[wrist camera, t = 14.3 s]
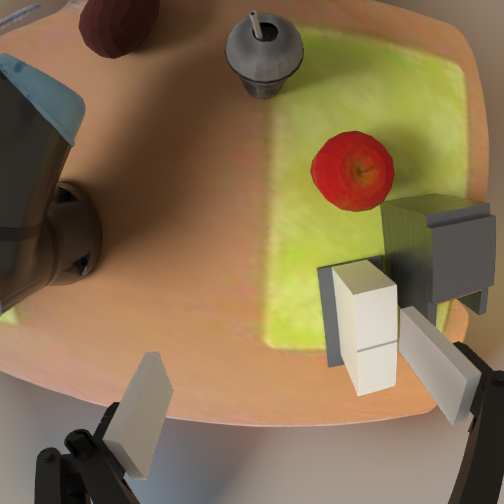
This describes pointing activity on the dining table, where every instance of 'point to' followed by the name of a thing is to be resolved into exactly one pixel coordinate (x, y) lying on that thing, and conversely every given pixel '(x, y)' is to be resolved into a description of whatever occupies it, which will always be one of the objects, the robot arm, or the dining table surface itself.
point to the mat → (334, 309)
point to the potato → (116, 25)
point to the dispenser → (439, 251)
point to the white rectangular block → (367, 325)
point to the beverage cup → (264, 52)
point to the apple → (353, 171)
